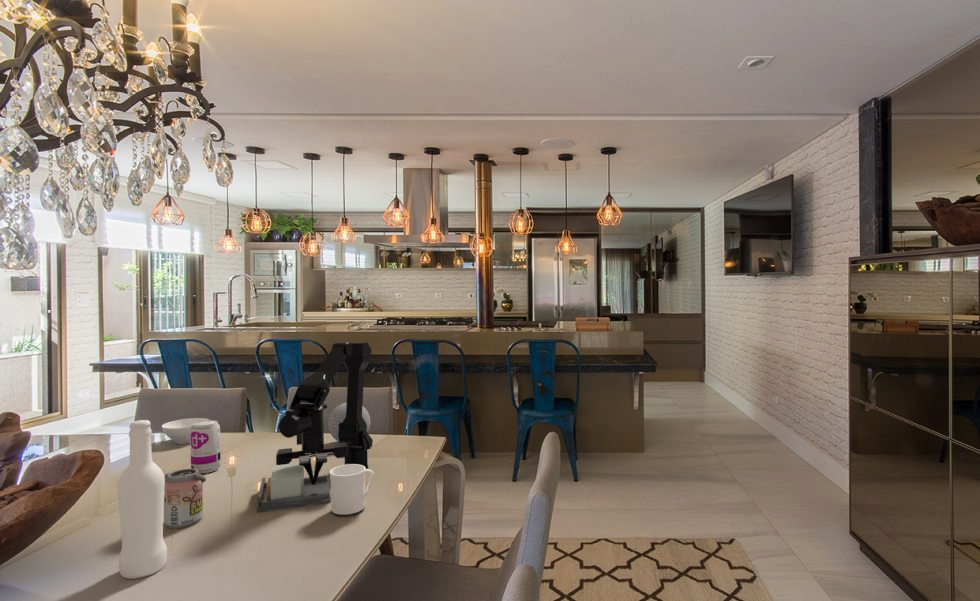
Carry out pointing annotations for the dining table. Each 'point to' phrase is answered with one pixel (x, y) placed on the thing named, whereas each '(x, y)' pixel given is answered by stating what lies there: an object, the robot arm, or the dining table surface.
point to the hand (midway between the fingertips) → (313, 484)
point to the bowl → (180, 429)
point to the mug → (349, 489)
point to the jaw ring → (268, 488)
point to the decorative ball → (340, 415)
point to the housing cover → (287, 481)
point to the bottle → (141, 508)
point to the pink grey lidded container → (183, 498)
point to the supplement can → (205, 446)
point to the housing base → (311, 496)
